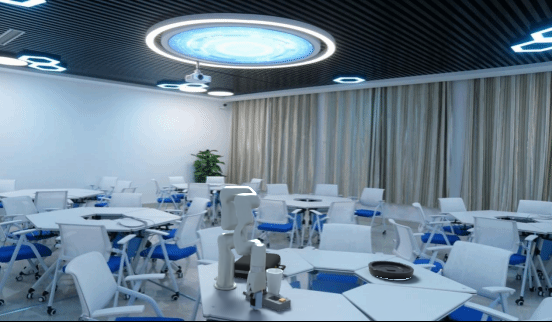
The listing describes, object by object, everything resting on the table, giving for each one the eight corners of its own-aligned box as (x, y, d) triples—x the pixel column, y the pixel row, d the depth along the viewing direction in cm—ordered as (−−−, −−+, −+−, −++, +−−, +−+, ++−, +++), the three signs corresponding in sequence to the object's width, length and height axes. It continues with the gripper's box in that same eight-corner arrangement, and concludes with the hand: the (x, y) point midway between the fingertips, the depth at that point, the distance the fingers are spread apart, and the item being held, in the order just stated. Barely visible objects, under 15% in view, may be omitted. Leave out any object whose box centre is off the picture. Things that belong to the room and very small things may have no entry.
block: (249, 307, 196) (250, 291, 196) (255, 304, 199) (255, 289, 199) (256, 309, 193) (256, 293, 193) (261, 307, 196) (262, 291, 196)
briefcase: (278, 284, 237) (278, 268, 237) (229, 278, 244) (229, 262, 244) (290, 268, 272) (290, 254, 272) (247, 263, 279) (247, 249, 279)
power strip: (237, 295, 215) (238, 278, 215) (249, 291, 222) (249, 274, 222) (279, 311, 196) (280, 292, 195) (290, 306, 202) (291, 288, 202)
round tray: (420, 283, 251) (405, 269, 281) (420, 273, 251) (405, 261, 281) (373, 280, 252) (363, 267, 282) (373, 271, 252) (364, 259, 282)
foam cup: (271, 298, 213) (272, 274, 213) (262, 292, 221) (263, 269, 220) (285, 294, 219) (286, 271, 219) (275, 289, 226) (276, 267, 226)
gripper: (263, 263, 204) (261, 297, 205) (240, 269, 192) (238, 306, 192) (274, 266, 199) (272, 301, 200) (251, 273, 187) (249, 311, 187)
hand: (255, 303), depth 196 cm, fingers closed on block, 4 cm apart
